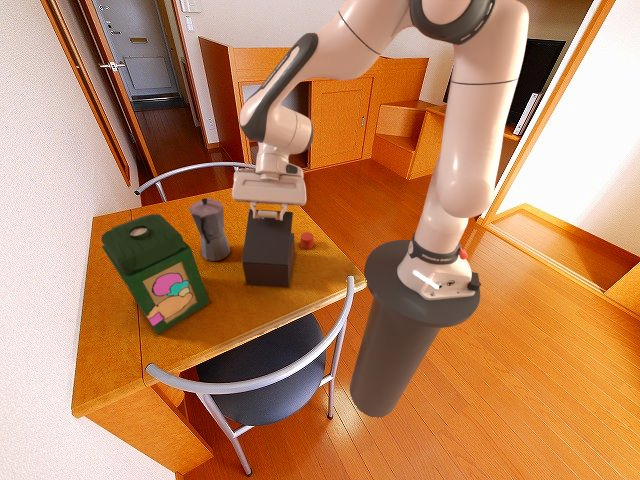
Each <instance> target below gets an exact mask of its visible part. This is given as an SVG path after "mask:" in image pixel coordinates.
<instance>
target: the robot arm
mask: <svg viewBox="0 0 640 480" xmlns="http://www.w3.org/2000/svg"><path fill="white" fill-rule="evenodd" d="M529 22H530V13H529V10H528V8H527V6H526V5H525V4H524V3H522V2H521V1H519V0H344V1H343V2H342V4H341V6H340V7H339V9H338V11H337V12H336V14H334V16H333V17H332V19H331V20H330V21H329V22H327V24H325V25H324V26H323V27H322V28H319V30H317V31H315V32H314V31H313V32H306V33H305V34H303V35H302V36H301V37H300V38H298V40H297V41H295V43H294V44H293V45H292V46H291V48H290V49H289V50H288V51H287V52H286V54H285V55H284V56H283V57H282V59H280V61H279V62H278V64H277V65H276V66H275V67H274V69H273V70H272V71H271V73H270V74H269V75H268V76H267V78H266V79H265V80H264V81H263V83H262V84H261V85H260V86H259V87H258V89H257V90H255V92H254V93H252V94H251V95H250V96H249V97H248V98H247V99H246V100H245V102H244V103H243V105H242V107H241V109H240V112H239V116H238V123H239V127H240V129H241V130H242V131H241V132H243V134H244V136H245V137H246V138H247V140H249V141H252V142H255V143H257V145H258V152H257V154H256V160H255V161H256V162H255V168H242V167H241V168H239V169H237V170H235V172H234V173H233V185H232V190H231V198H232V199H233V200H234V201H235V202H237V203H248V204H249V206H250V209H252V211H253V219H260V217H258V212H257V211H256V210H257V209H256V207H257V206H258V204H265V205H278V206H280V205H281V210H280V211H281V212H280V213H277V218H276V220H277V221H282V220H283V215H284V213H285V212H287V211H288V207H289V206H292V207H293V206H294V207H295V206H296V207H304V206H306V204H307V187H306V182H305V180H304V175H305V174H304V170H303V169H302V167H300V166H298V165H295V164H294V163H293V164H292V163H290V160H289V157H290V156H291V155H299V154H302V153H304V152H306V151H307V150H308V149H309V148H310V147H311V146H312V144H313V140H314V133H315V132H314V125H313V122H312V120H311V119H310V118H309V117H307V116H306V115H304V114H302V113H300V112H298V111H295V110H293V109H291V108H288V107H287V106H284V105H282V102H283V101H284V100H285V99H286V98H287V96H288V95H289V94H291V92H292V91H293V90H294V89H295V87H296V86H297V85H299V83H301V82H303V81H306V80H309V79H329V80H335V81H342V82H344V81H352V80H355V79H358V78H360V77H362V76H363V75H364V74H366V73H367V71H369V70H370V69H371V68H372V67H373V66H374V64H375V63H376V62H377V61H378V60H379V58H380V57H381V55H382V54H383V53H384V52H385V51H386V49H387V48H388V46H390V44H391V43H392V41H393V40H394V39H395V38H396V37H397V36H398V35H399V34H400V33H401V32H403V31H404V30H405V29H408V28H416V29H417V30H418V31H419V32H420V34H422V35H423V36H425V37H426V38H428V39H432V40H435V41H440V42H445V43H448V44H452V46H453V47H452V48H453V52H454V54H453V56H454V57H453V65H452V66H453V67H452V72H451V77H450V82H449V83H450V84H449V90H448V96H447V103H446V107H445V108H446V109H445V114H444V120H443V129H442V139H441V148H440V152H439V154H438V155H437V158H436V161H435V164H434V166H433V170H432V175H431V178H430V182H429V185H428V189H427V192H426V197H425V200H424V205H423V209H422V212H421V215H420V218H419V221H418V224H417V228H416V230H415V231H414V233H413V234H412V237H411V239H410V240H411V241H410V244H409V248H408V252H407V254H406V256H405V258H404V259H403V261H402V262H401V263H400V264H399V266H398V268H397V274H398V277H399V279H400V280H401V281H402V283H403V284H405V285H406V286H407V287H408V288H410V289H412V290H414V291H415V292H417V293H419V294H420V295H421V296H422V297H423V298H424V299H426V300H439V299H449V298H459V297H469V296H473V295H474V293H475V291H476V292H477V290H478V289H479V288H480V287H482V283H481V281H480V277H479V273H478V272H475V271H472V269H471V266H470V263H469V262H468V258H469V255H468V253H467V251H466V250H465V249H463V246H462V244H461V242H460V241H461V239H462V237H463V235H464V233H465V230H466V228H467V227H468V225H469V224H468V223H469V219H470V218H475V217H477V216H480V215H482V214H483V213H484V212H486V211H487V210H488V209H489V208H490V206H491V205H492V203H493V201H494V197H495V187H496V181H497V177H498V170H499V165H500V162H501V161H500V160H501V153H502V148H503V141H504V140H503V139H504V133H505V129H506V128H505V127H506V124H507V119H508V116H509V112H510V109H511V105H512V103H513V99H514V96H515V95H514V94H515V91H516V87H517V85H518V81H519V77H520V74H521V70H522V67H523V66H522V65H523V62H524V57H525V52H526V45H527V40H528V34H529V33H528V31H529ZM431 295H432V296H431Z"/></svg>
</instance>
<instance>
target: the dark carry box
mask: <svg viewBox="0 0 640 480" xmlns="http://www.w3.org/2000/svg"><path fill="white" fill-rule="evenodd" d="M295 243H296V242H295V233H294V232H291V240H290V250H289V261H288V265H275V264H260V263H244V262H241V264H242V269H243V274H244V279H245V285H251V286H264V287H265V286H266V287H279V288H281V287H282V288H289V287H290V283H291V279H292V278H291V277H292V273H293V265H294V261H295V255H296V253H295V251H296V250H295V249H296V247H295Z"/></svg>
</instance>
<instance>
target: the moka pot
mask: <svg viewBox="0 0 640 480" xmlns="http://www.w3.org/2000/svg"><path fill="white" fill-rule="evenodd" d="M188 210H189V212H190V215H191V217H192V219H193V221H194V224H195V227H196V228H197V231H198V233H199V236H200V248H201V256H202V258H204V259H205V260H206V261H210V262H218V261H221V260H223V259H225V258H227V257H228V256H229V255H230V253H231V246H230V244H229V243H230V242H229V241H228V238H227V236H226V232H225V229H224V228H225V216H224V214H225V212H224V206H223V204H222V203H221V201H220V200H214V199H213V198H212V197H210V198H209V197H208V198H207V197H206V198H205V197H204V198H201V200H199V201H195V202H194V203H193V204H192V205H191V206H189V208H188Z"/></svg>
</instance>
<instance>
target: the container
mask: <svg viewBox="0 0 640 480" xmlns="http://www.w3.org/2000/svg"><path fill="white" fill-rule="evenodd" d="M101 243H102V246H101V248H102V249H103V251H104V253H105V254H106V256H107V258H108V259H109V261H110V262H111V264H112V265H113V267H114V269H115V270H116V272H117V273H118V275H119V277H120V278H121V280H122V282H123V283H124V285H125V286H126V288H127V289H128V291H129V293H130V294H131V296H132V297H133V299H134V301H135V302H136V304H137V305H138V307H139V308H140V310H141V312H142V313H143V314H144V317H146V319H147V320H148V322H149V323H150V325H151V326H152V328H153V329H154V331H155V333H156V334H157V335H159V336H160V335H161V334H162V333H164V332H165V331H167V330H168V329H170V328H172V327H173V326H175V325H176V324H178V323H179V322H181V321H183V320H184V319H186V318H187V317H189V316H191V315H192V314H195V312H197V311H198V310H200V309H201V308H203V307H205V306H206V305H208V304H210V303H211V302H210V300H209V299H210V298H209V297H208V293H207V291H206V288H205V285H204V282H203V279H202V276H201V272H200V271H199V268H198V265H197V262H196V259H195V256H194V254H193V253H194V252H193V250H192V248H191V247H190V245H189V244H188V243H187V242H186V241H185V240H184V238H183V236H182V234H181V233H180V232H178V230H177V229H175V228H174V227H173V225H171V223H170V222H169V221H168V220H166V218H165V217H163V216H162V215H161V214H159V213H156V214H155V213H152V214H148V215H143V216H139V217H137V218H135V219H132V220H130V221H126V222H124V223H121V224H119V225H116V226H113V227H112V228H111V229H109V230H106V231H105V232H104V233H103V234H102V235H101Z"/></svg>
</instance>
